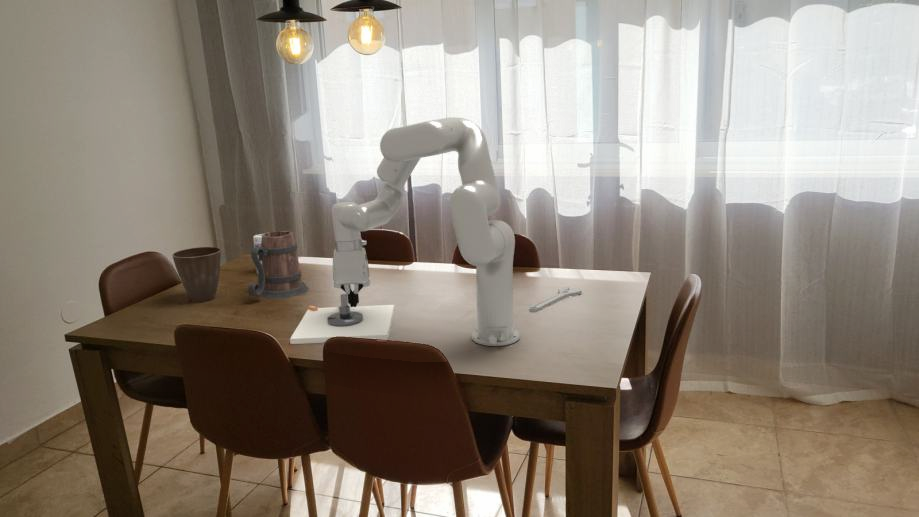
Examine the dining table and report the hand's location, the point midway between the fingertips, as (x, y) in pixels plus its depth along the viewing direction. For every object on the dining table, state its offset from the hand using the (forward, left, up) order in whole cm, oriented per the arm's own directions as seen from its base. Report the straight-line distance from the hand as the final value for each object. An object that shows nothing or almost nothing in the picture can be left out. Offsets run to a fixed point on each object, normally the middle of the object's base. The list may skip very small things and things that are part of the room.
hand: (353, 305), depth 207 cm
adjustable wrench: (+8, -60, -4) cm, 61 cm away
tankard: (+28, +30, -4) cm, 41 cm away
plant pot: (+26, +54, -4) cm, 60 cm away
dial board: (-5, +2, -4) cm, 6 cm away
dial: (-3, +2, -2) cm, 4 cm away
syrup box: (+56, +40, -4) cm, 69 cm away
